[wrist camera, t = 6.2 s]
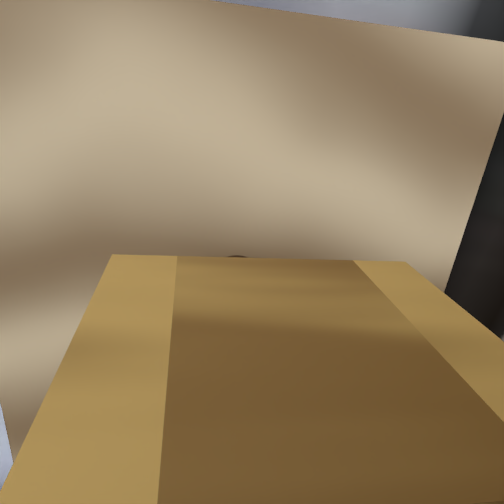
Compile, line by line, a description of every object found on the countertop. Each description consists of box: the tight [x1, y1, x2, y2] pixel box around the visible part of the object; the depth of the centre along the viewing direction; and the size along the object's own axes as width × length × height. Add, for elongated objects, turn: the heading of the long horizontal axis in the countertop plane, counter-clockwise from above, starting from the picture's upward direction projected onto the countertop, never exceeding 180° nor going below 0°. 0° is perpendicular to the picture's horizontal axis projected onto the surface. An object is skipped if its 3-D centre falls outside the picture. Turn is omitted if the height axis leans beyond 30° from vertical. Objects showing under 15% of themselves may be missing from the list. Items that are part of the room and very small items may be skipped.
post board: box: [0, 0, 504, 463], centre depth 12 cm, size 16×16×6 cm
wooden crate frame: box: [0, 254, 504, 504], centre depth 6 cm, size 6×6×5 cm
